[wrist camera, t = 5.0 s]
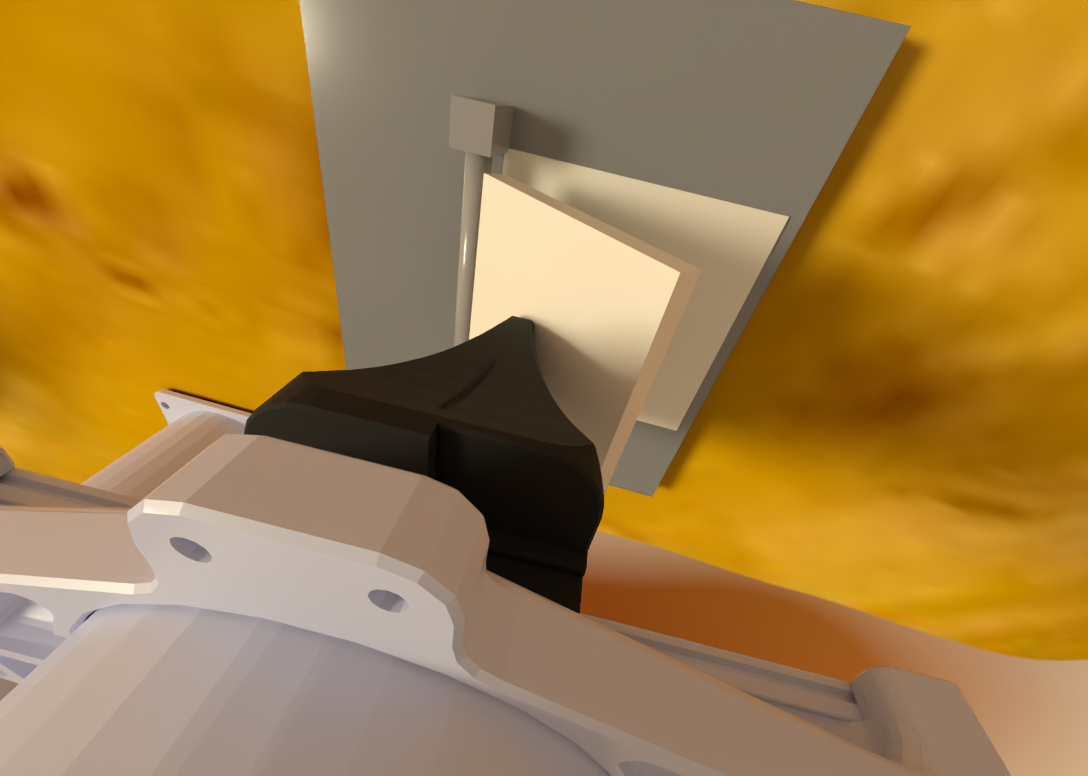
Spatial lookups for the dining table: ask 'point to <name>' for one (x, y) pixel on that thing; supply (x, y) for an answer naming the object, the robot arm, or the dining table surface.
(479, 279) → the tile
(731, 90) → the grey flat piece
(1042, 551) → the dining table surface
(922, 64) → the dining table surface
